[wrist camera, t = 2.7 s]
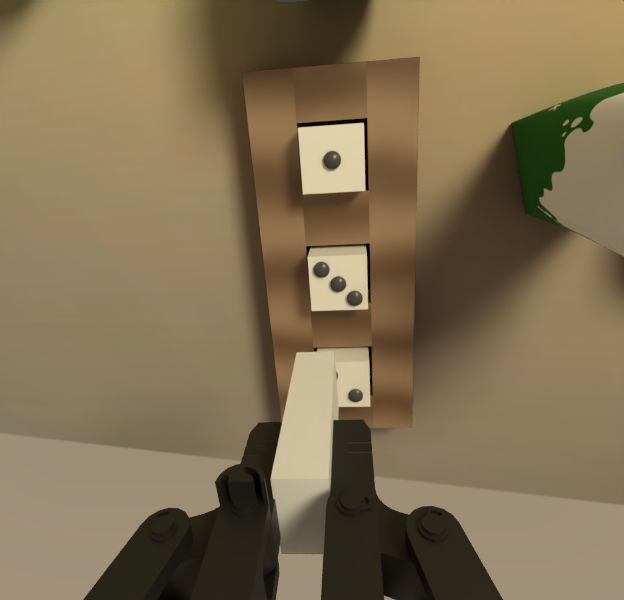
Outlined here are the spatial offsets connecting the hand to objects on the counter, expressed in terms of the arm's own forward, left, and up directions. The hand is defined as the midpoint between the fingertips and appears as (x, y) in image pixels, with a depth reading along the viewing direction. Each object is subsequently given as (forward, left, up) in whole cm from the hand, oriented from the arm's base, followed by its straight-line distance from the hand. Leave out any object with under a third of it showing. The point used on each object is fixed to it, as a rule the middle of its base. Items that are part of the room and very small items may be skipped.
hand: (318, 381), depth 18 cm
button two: (-10, +5, -20) cm, 23 cm away
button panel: (-2, +1, -22) cm, 22 cm away
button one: (+6, -4, -20) cm, 21 cm away
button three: (-2, +1, -20) cm, 20 cm away
